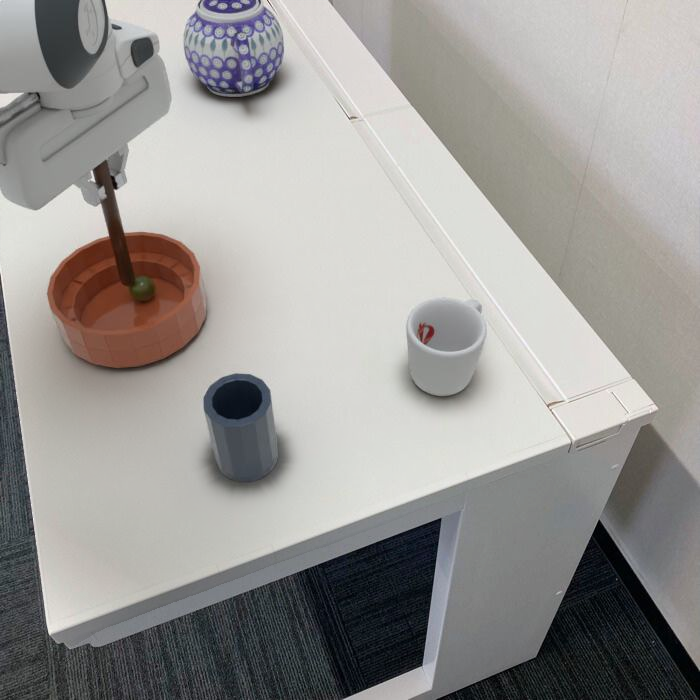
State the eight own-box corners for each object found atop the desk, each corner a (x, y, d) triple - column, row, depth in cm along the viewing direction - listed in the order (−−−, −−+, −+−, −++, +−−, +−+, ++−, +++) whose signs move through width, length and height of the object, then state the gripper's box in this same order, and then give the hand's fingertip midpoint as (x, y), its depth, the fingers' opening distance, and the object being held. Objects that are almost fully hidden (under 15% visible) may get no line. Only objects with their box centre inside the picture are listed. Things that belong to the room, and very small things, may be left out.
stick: (126, 291, 86) (85, 127, 72) (119, 284, 87) (76, 121, 73) (139, 285, 87) (100, 121, 73) (131, 278, 88) (92, 115, 74)
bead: (151, 306, 87) (162, 293, 90) (145, 282, 86) (156, 270, 88) (127, 306, 88) (138, 293, 90) (120, 282, 86) (132, 270, 89)
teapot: (298, 117, 116) (292, 19, 105) (196, 129, 114) (179, 30, 103) (274, 39, 133) (267, -53, 121) (184, 49, 131) (169, -44, 119)
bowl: (144, 394, 81) (131, 356, 76) (32, 337, 86) (14, 298, 82) (235, 300, 90) (229, 261, 86) (129, 254, 96) (118, 215, 91)
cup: (441, 323, 87) (447, 270, 81) (503, 354, 84) (515, 301, 78) (388, 383, 82) (390, 331, 76) (453, 418, 78) (461, 367, 72)
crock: (255, 492, 73) (245, 437, 66) (203, 465, 75) (189, 408, 68) (290, 447, 76) (284, 389, 69) (240, 421, 78) (229, 364, 72)
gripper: (6, 134, 61) (56, 263, 72) (169, 27, 73) (192, 151, 83) (-49, 112, 63) (7, 241, 74) (118, 11, 75) (147, 135, 85)
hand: (107, 192), depth 79 cm, fingers closed on stick, 2 cm apart
